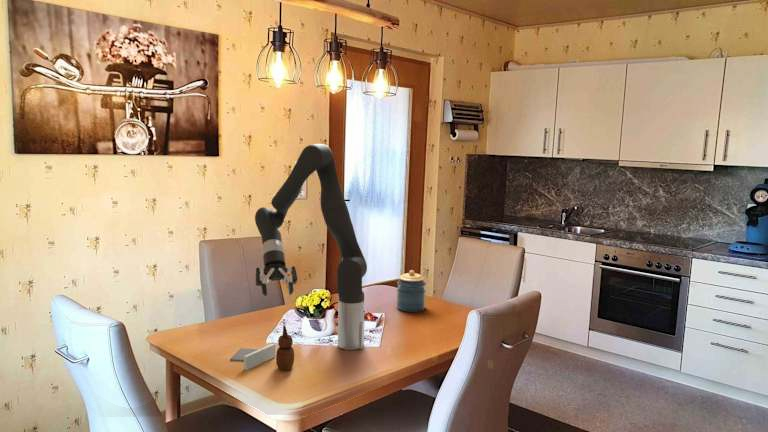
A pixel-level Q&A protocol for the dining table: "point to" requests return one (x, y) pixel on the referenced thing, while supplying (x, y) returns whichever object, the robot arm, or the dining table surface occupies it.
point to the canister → (411, 292)
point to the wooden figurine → (285, 351)
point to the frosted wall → (259, 356)
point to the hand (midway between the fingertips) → (278, 294)
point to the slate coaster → (241, 354)
